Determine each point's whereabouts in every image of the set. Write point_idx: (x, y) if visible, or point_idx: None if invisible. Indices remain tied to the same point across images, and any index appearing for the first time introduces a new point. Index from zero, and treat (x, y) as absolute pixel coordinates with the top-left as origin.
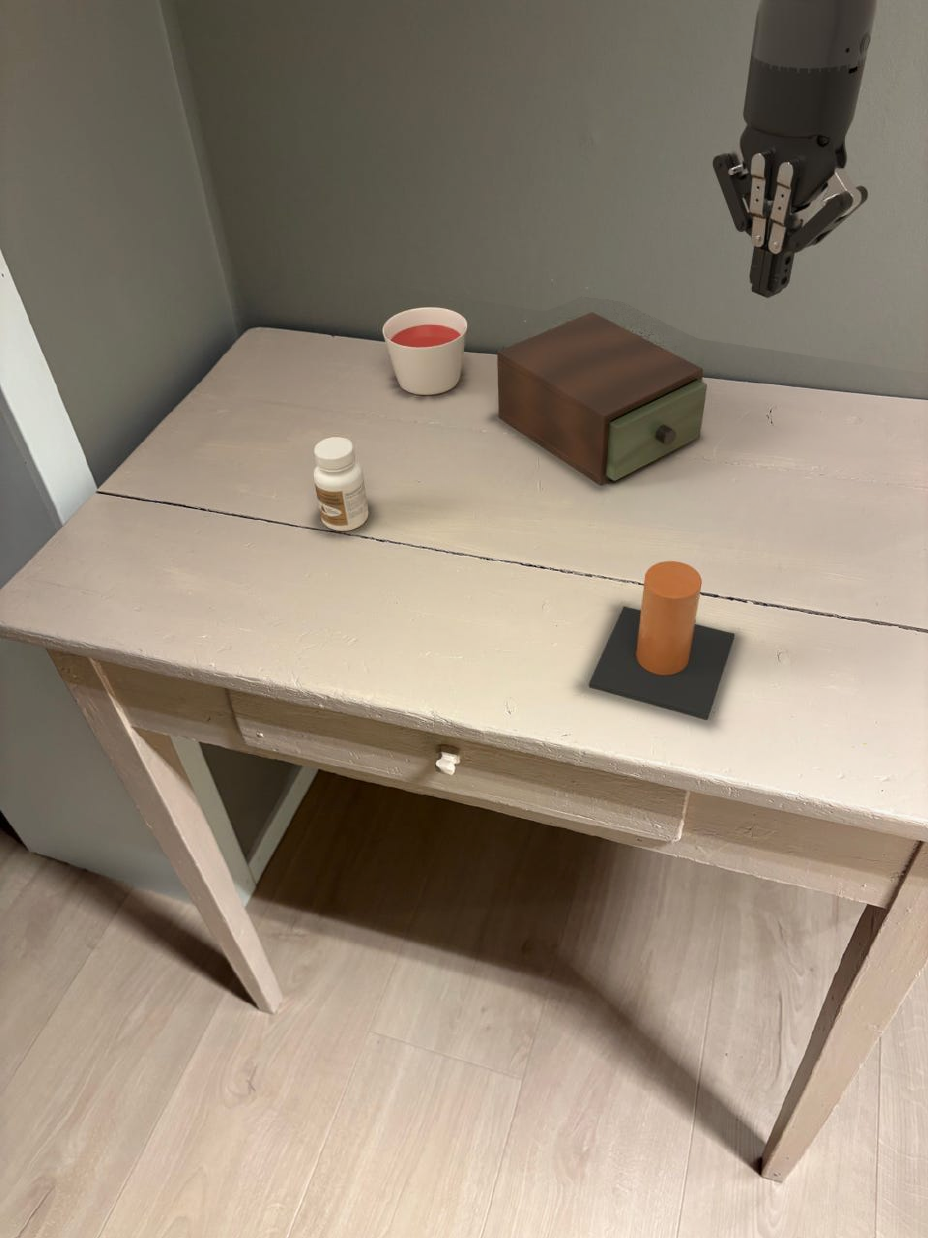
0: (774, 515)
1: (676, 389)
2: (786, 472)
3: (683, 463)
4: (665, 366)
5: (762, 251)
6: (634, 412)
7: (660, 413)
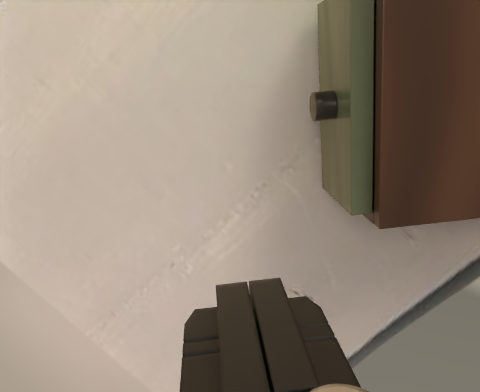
0: (136, 157)
1: None
2: (201, 234)
3: (299, 136)
4: (430, 180)
5: (287, 384)
6: (369, 48)
7: (346, 100)
